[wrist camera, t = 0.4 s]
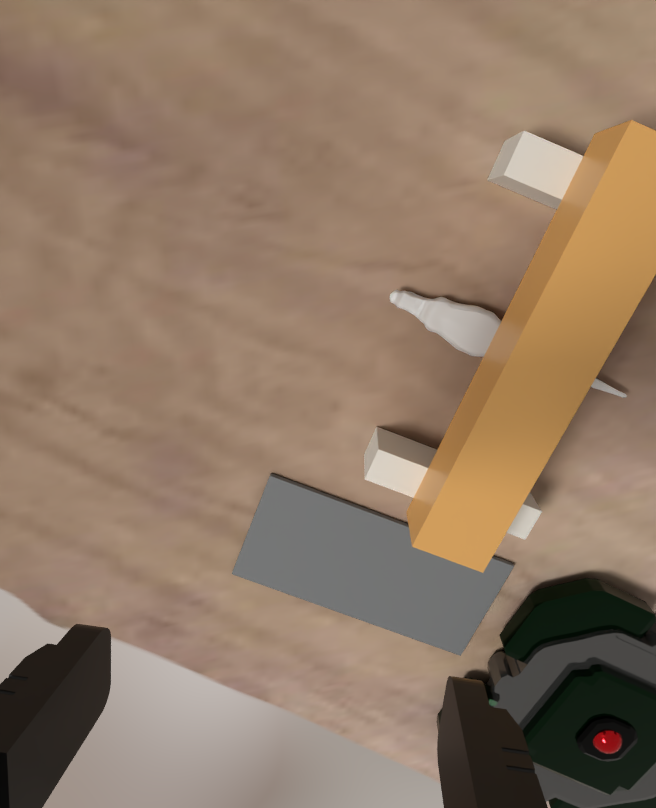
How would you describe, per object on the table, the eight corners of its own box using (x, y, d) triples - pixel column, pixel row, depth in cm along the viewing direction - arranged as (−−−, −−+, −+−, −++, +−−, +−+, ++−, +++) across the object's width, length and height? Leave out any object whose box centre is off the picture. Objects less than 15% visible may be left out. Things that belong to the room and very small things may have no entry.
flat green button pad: (415, 727, 42) (421, 786, 37) (547, 547, 36) (573, 592, 32) (615, 812, 43) (643, 878, 39) (771, 652, 38) (824, 708, 33)
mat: (270, 473, 35) (270, 475, 34) (512, 562, 36) (513, 566, 36) (233, 570, 37) (231, 573, 37) (459, 651, 38) (460, 655, 38)
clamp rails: (504, 141, 28) (524, 130, 25) (677, 214, 29) (718, 214, 25) (364, 454, 34) (364, 479, 31) (509, 509, 35) (525, 539, 31)
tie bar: (594, 133, 25) (631, 119, 21) (673, 167, 25) (721, 159, 22) (406, 512, 31) (411, 546, 28) (470, 535, 32) (483, 572, 28)
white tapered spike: (379, 313, 31) (380, 318, 30) (398, 269, 31) (401, 272, 29) (607, 411, 33) (621, 422, 31) (632, 372, 32) (648, 381, 30)
